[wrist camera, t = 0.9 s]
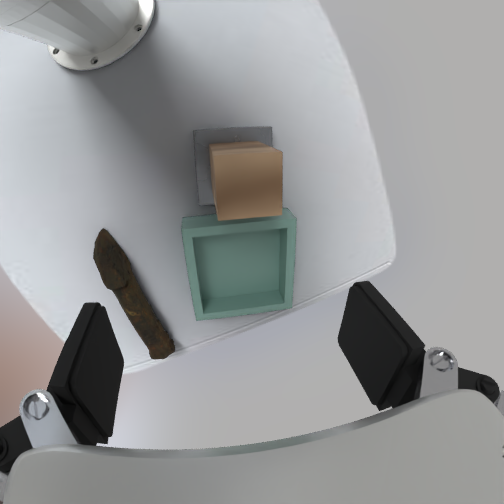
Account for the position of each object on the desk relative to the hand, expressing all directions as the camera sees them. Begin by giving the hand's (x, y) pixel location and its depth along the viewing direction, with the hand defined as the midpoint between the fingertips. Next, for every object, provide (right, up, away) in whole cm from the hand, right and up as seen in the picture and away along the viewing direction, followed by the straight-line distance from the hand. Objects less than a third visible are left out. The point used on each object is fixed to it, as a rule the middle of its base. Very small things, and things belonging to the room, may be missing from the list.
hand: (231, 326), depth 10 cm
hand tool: (-15, -2, +24) cm, 29 cm away
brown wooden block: (-1, +12, +18) cm, 22 cm away
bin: (-1, +2, +25) cm, 25 cm away
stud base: (-1, +12, +19) cm, 23 cm away
